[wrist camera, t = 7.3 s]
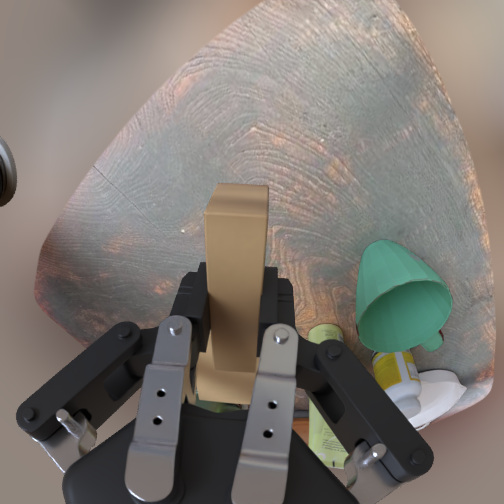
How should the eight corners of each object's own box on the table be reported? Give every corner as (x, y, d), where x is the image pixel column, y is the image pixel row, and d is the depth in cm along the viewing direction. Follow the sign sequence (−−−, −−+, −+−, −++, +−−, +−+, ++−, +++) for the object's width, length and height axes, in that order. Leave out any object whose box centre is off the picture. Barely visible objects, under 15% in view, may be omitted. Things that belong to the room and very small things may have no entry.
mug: (322, 259, 34) (335, 326, 26) (389, 202, 29) (426, 258, 21) (390, 317, 39) (408, 376, 30) (446, 275, 34) (477, 331, 26)
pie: (323, 398, 52) (325, 421, 48) (343, 424, 59) (344, 443, 55) (251, 413, 57) (249, 434, 52) (281, 436, 64) (280, 454, 60)
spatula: (174, 180, 13) (150, 210, 10) (313, 188, 13) (324, 220, 10) (200, 393, 22) (194, 426, 20) (276, 399, 22) (275, 433, 19)
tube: (303, 346, 43) (307, 475, 27) (302, 323, 40) (307, 465, 24) (341, 343, 42) (357, 470, 26) (343, 320, 39) (364, 458, 23)
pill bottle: (363, 361, 44) (374, 425, 35) (383, 336, 41) (400, 403, 31) (395, 364, 45) (409, 423, 35) (416, 340, 41) (436, 403, 32)
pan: (461, 344, 42) (469, 361, 39) (460, 398, 54) (464, 411, 51) (337, 392, 50) (339, 411, 47) (370, 432, 63) (372, 445, 59)
